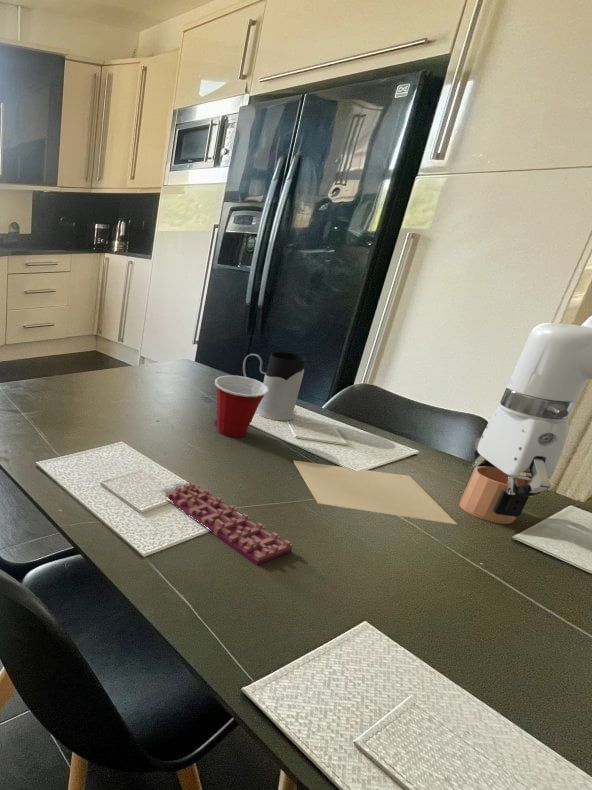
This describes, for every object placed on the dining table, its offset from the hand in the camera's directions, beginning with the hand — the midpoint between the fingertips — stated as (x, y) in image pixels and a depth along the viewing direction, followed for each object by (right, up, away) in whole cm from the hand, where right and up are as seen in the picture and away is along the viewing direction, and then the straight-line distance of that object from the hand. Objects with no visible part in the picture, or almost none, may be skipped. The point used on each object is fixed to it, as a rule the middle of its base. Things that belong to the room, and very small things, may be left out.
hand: (490, 501), depth 82 cm
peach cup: (0, -2, +1) cm, 2 cm away
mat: (-16, 0, +5) cm, 17 cm away
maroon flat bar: (-47, -3, -3) cm, 47 cm away
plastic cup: (-30, +9, +29) cm, 43 cm away
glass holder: (-15, +14, +42) cm, 47 cm away
